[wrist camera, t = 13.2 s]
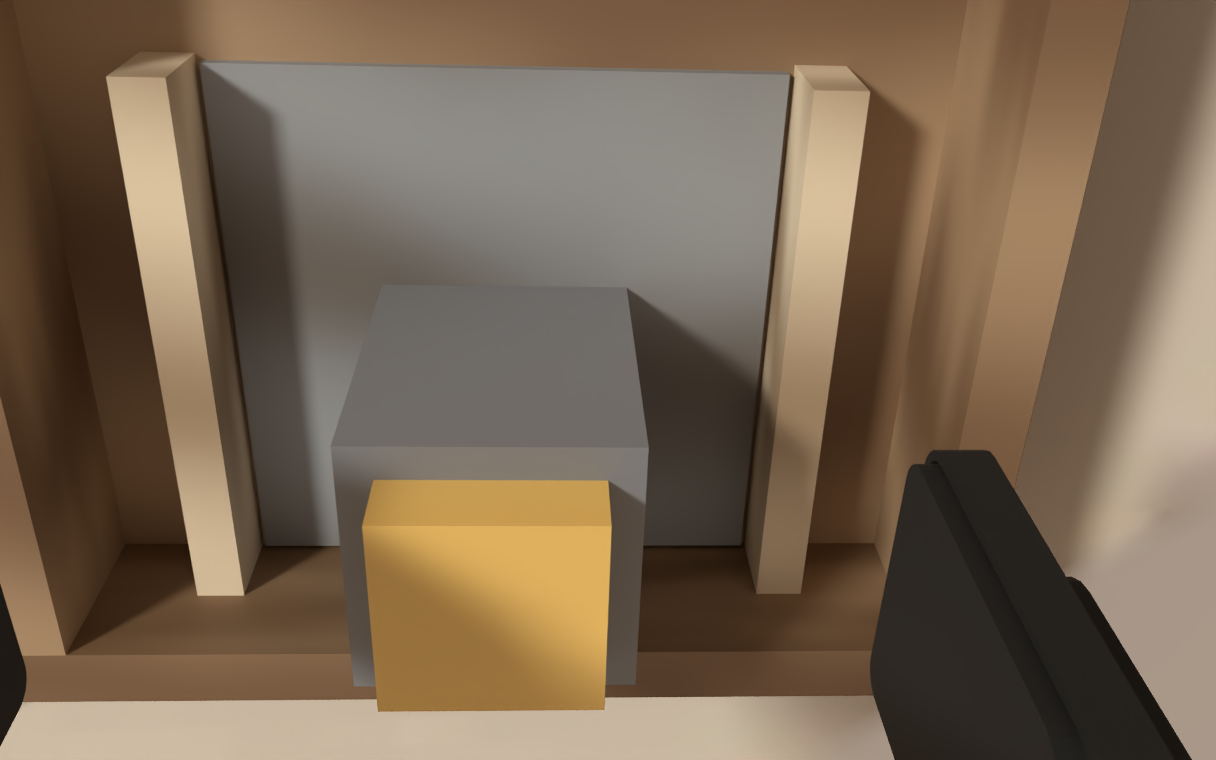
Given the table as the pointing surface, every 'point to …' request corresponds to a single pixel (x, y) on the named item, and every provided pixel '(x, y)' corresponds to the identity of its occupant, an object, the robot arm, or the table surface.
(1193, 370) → the table surface
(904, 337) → the crate
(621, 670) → the block
